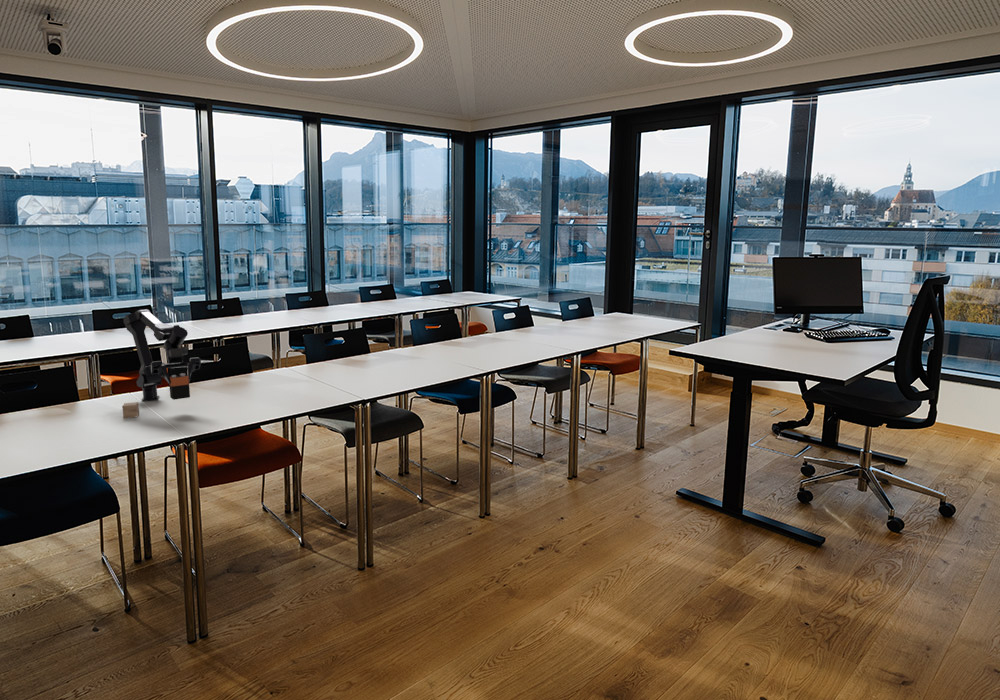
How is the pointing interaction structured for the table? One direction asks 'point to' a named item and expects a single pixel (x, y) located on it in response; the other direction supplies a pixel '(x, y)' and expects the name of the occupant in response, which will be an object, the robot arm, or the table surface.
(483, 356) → the table surface
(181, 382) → the battery
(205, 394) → the table surface
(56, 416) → the table surface
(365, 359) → the table surface
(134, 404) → the beige cube
